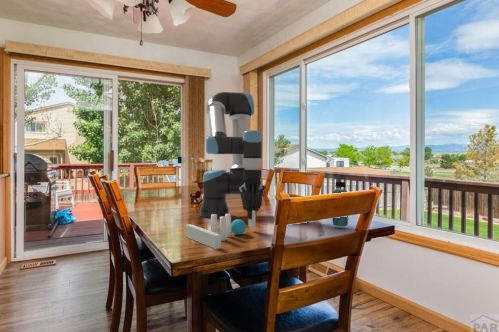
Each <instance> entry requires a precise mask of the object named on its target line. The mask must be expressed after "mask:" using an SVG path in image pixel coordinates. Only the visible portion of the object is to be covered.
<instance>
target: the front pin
mask: <svg viewBox="0 0 499 332" xmlns="http://www.w3.org/2000/svg"><path fill="white" fill-rule="evenodd" d="M225 217H226V238H231V237H232V231H231V224H232V214H231V213H229V214H225Z"/></svg>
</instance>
